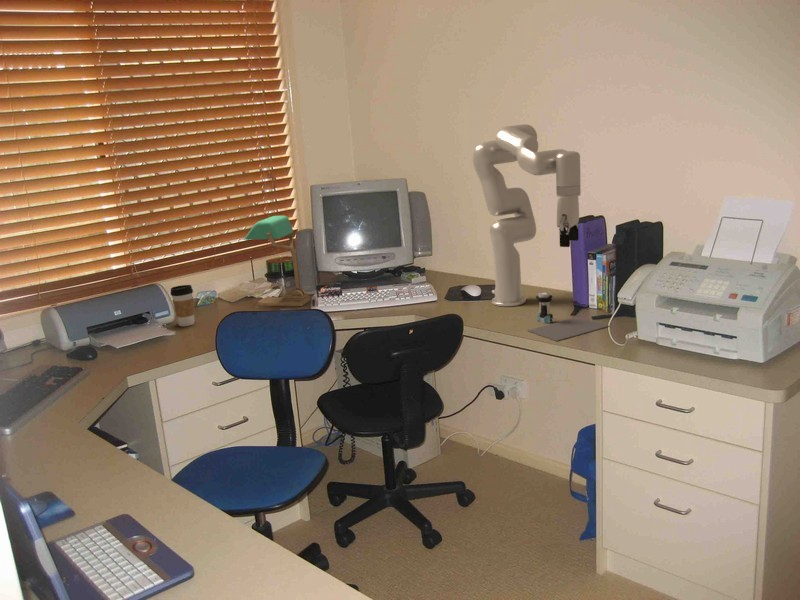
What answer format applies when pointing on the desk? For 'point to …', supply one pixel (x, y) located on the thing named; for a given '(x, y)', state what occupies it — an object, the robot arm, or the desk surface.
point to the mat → (567, 328)
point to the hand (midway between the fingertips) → (569, 243)
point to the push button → (544, 307)
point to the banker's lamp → (275, 230)
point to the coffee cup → (183, 304)
